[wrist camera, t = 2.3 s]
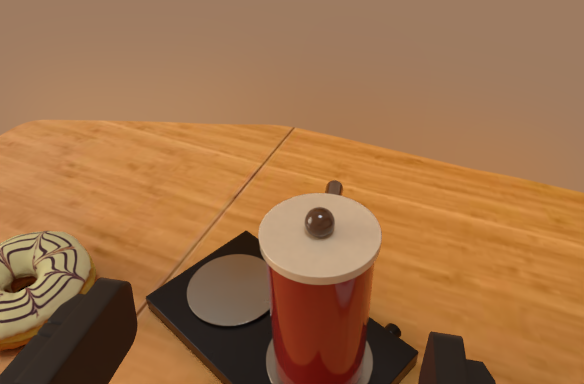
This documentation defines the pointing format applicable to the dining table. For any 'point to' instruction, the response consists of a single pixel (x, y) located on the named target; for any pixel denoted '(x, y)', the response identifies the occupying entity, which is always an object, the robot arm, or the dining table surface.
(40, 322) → the decorated donut
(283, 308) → the lidded canister
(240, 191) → the dining table surface
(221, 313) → the flat stove
